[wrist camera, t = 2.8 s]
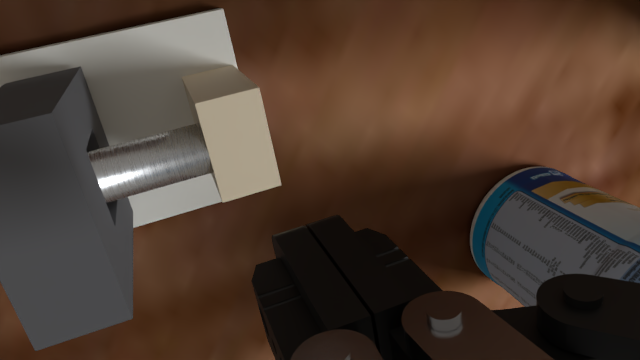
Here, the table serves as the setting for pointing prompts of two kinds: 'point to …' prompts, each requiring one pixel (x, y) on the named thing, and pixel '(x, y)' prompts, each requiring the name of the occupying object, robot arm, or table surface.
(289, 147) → the table surface
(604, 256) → the blue canister
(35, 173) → the grey sliding block
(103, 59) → the pipe stand
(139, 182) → the metal pipe
